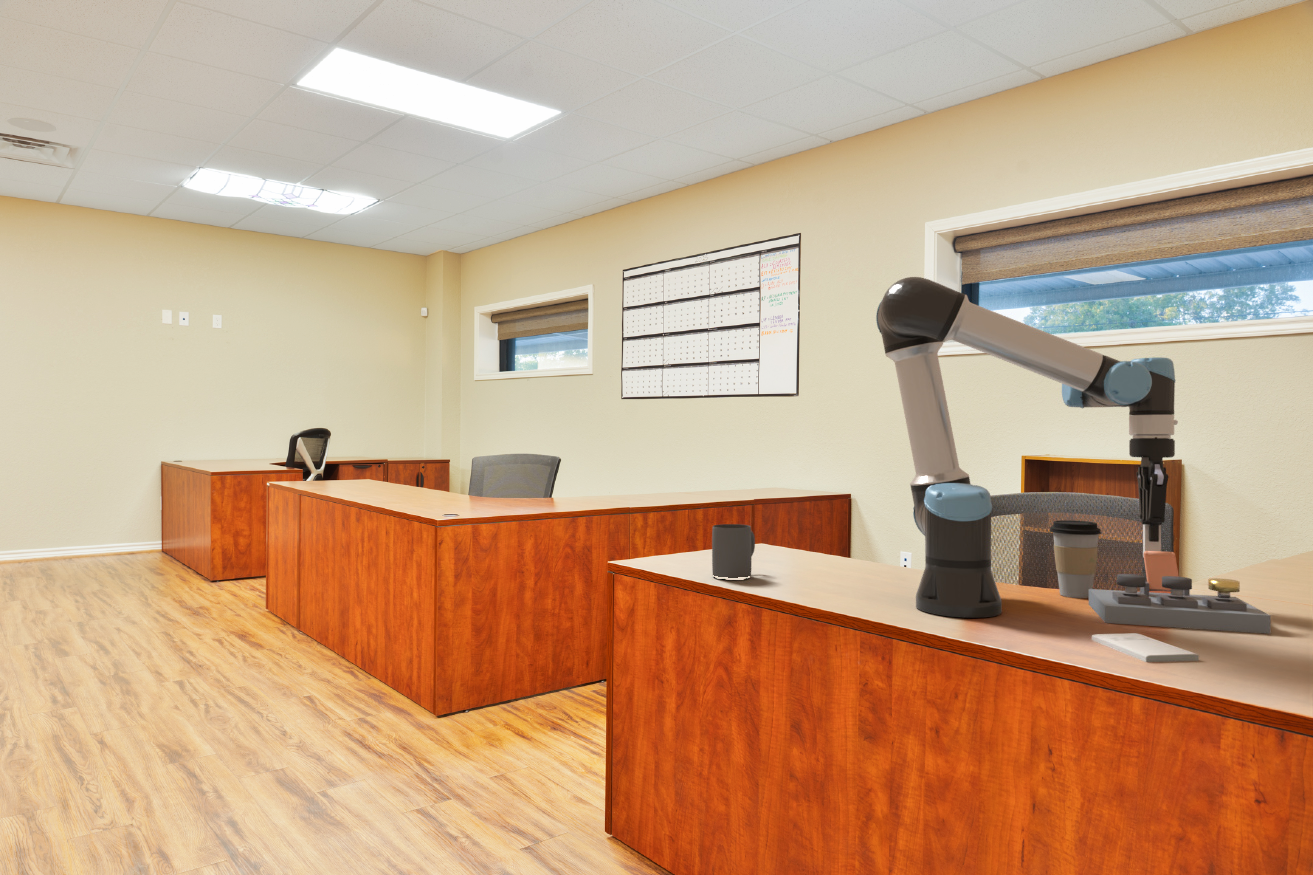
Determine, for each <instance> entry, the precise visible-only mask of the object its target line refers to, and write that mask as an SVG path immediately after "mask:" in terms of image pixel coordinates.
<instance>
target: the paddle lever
mask: <svg viewBox="0 0 1313 875" xmlns="http://www.w3.org/2000/svg"><path fill="white" fill-rule="evenodd" d="M1143 555H1144V557H1143V562H1144V569H1145V577H1146V582H1148V583H1149V592H1165V593H1169V592H1170V593H1171V589H1169V588H1164V587H1162V577H1163V576H1177V577H1180V576H1179V571H1178V565H1177V558H1176V553H1175V552H1173V551H1162V550H1161V551H1145V552H1144V553H1143V552H1142V556H1143Z"/></svg>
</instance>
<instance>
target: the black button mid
mask: <svg viewBox="0 0 1313 875" xmlns="http://www.w3.org/2000/svg"><path fill="white" fill-rule="evenodd" d="M1162 587H1164V588H1169V589H1171V592H1170V593H1171V595H1175V596H1183V590H1192V589H1193V579H1192V578H1190V577H1185V576H1179V577H1177V576H1163V577H1162Z"/></svg>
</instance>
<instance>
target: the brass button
mask: <svg viewBox="0 0 1313 875" xmlns="http://www.w3.org/2000/svg"><path fill="white" fill-rule="evenodd" d="M1207 582H1208V584H1207V586H1208V590H1210V591H1215V592H1217V596H1218V597H1219V598H1230V597H1231V593H1239V592H1240V591H1241V587H1240V581H1239V580H1236V579H1230V578H1217V577H1216V578H1214V577H1213V578H1208V580H1207Z"/></svg>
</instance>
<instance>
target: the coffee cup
mask: <svg viewBox="0 0 1313 875" xmlns="http://www.w3.org/2000/svg"><path fill="white" fill-rule="evenodd" d="M1052 522H1053V523H1052V526H1050V527H1049V532H1051V533H1052V534H1053V543H1054V544H1053V552H1054V561H1055V568H1056V572H1057V579H1058V580H1057V582H1058V590H1059V595H1060V596H1063V597H1067V598H1072V599H1073V598H1074V599H1089V589H1094V588H1093V587H1094V580H1095V574H1096V569H1097V560H1098V550H1099V546H1098V543H1099V535H1101V534H1102V532H1101V528H1099V527H1098V523H1097V522H1094V521H1086V520H1073V519H1072V520H1070V519H1068V520H1066V519H1061V520H1053V521H1052Z"/></svg>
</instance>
